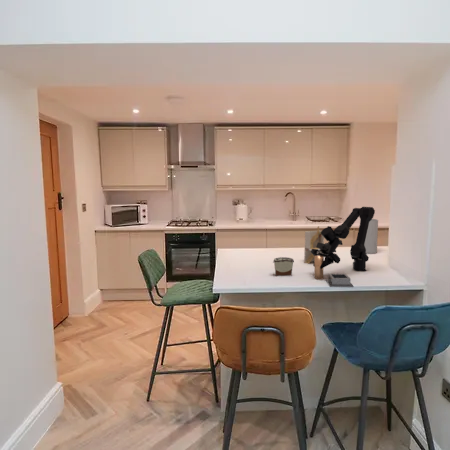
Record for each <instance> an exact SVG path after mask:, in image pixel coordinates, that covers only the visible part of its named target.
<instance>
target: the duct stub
mask: <svg viewBox="0 0 450 450" xmlns="http://www.w3.org/2000/svg"><path fill="white" fill-rule="evenodd" d="M351 280H352V279H351V278H350V276H349V275H348V274H347V273H328V278H325V281H326V283H327V284H328V286H329V287H330V288H354V285H353V284H352V282H351Z"/></svg>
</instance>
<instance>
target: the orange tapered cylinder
mask: <svg viewBox="0 0 450 450" xmlns="http://www.w3.org/2000/svg"><path fill="white" fill-rule="evenodd" d="M324 260H325V257H324V256H323V255H315V264H314V263H313V264H314V266H313V269H314V273H313V274H314V275H313V276H314V277H313V278H314V279H315V280H323V279H324V268H325V267H324V268H322V269H321V268H320V266H321V265H322V263H323V261H324Z"/></svg>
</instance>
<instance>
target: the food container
mask: <svg viewBox="0 0 450 450" xmlns="http://www.w3.org/2000/svg"><path fill="white" fill-rule="evenodd" d="M294 263H295V260H294V258H291V257H286V256H285V257H284V256H280V257H276V258H274V259H273V262H272V264H274V273H275V277H290V276H291V277H292V274H293V267H294Z"/></svg>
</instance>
